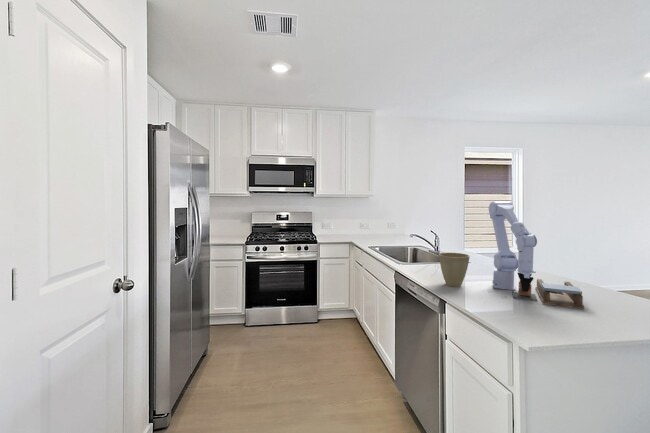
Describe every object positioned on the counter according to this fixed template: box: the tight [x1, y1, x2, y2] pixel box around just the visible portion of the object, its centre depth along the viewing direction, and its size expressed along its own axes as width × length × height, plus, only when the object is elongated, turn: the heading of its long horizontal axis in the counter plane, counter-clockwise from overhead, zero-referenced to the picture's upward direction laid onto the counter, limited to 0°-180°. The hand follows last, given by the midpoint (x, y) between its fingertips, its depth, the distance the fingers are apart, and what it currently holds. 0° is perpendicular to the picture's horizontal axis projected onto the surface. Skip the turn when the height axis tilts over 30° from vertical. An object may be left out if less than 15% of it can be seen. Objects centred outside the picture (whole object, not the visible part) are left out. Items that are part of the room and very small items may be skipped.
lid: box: [541, 282, 583, 296], centre depth 135 cm, size 13×8×1 cm, turn 62°
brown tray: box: [535, 278, 585, 309], centre depth 141 cm, size 14×23×5 cm, turn 152°
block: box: [518, 281, 532, 296], centre depth 143 cm, size 4×4×5 cm
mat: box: [511, 291, 538, 302], centre depth 143 cm, size 9×9×1 cm
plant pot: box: [438, 252, 471, 288], centre depth 163 cm, size 15×15×16 cm
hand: (524, 290), depth 143 cm, fingers open, 5 cm apart
